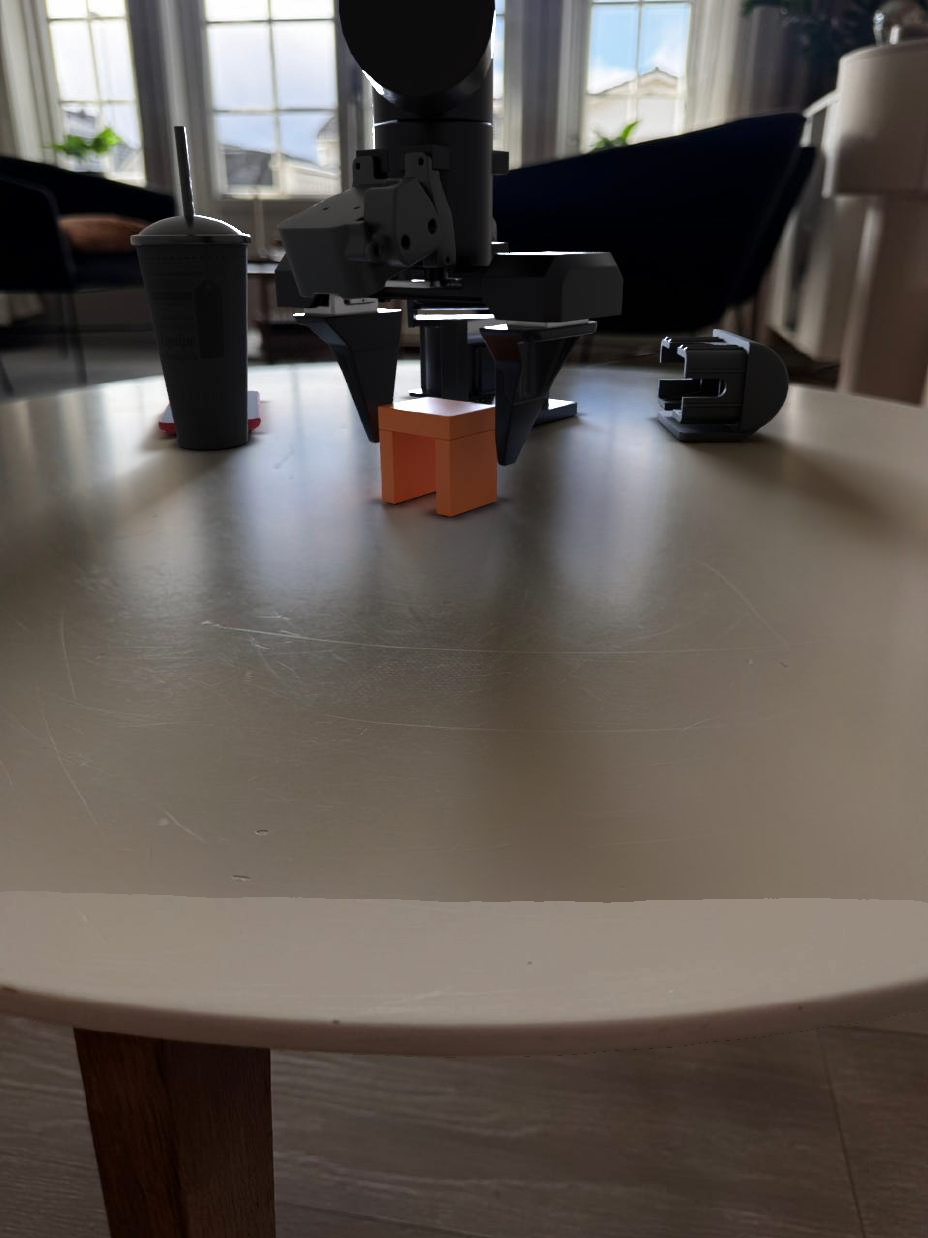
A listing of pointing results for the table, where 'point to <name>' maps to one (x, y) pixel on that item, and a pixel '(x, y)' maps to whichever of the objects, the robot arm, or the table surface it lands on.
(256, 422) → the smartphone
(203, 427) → the drinking cup
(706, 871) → the table surface
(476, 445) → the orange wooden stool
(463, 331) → the rack
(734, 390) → the end cap
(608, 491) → the table surface
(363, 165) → the robot arm
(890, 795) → the table surface
